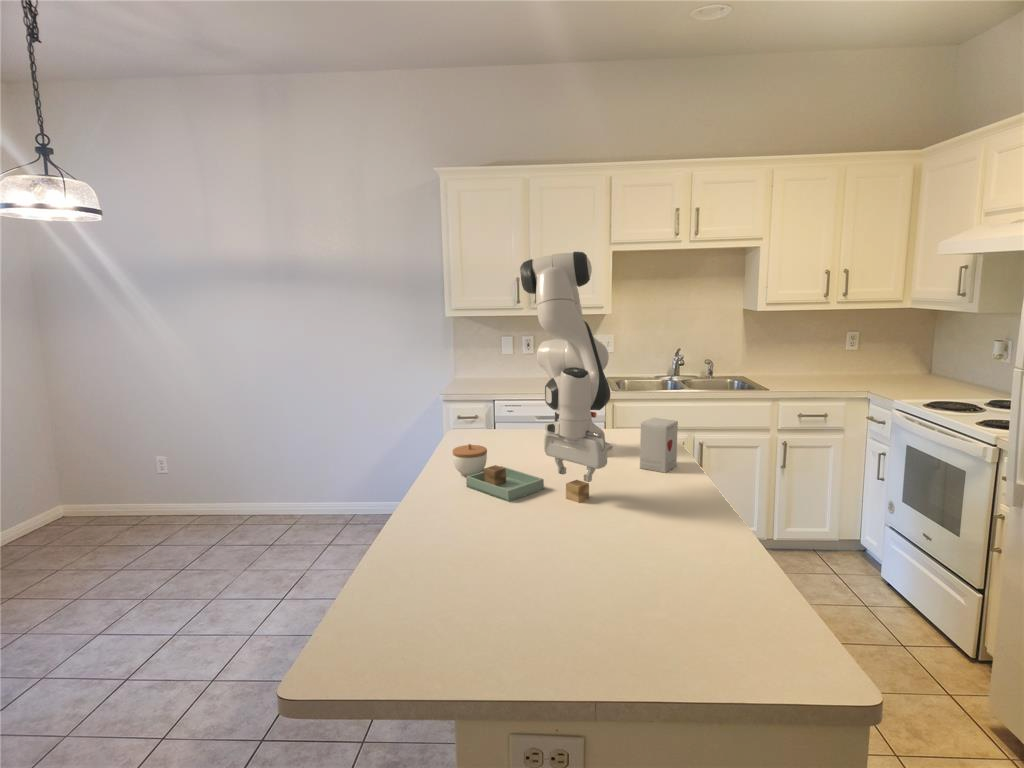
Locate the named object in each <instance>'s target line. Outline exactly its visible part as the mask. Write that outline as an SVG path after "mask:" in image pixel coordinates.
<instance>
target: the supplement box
mask: <svg viewBox="0 0 1024 768" xmlns="http://www.w3.org/2000/svg"><path fill="white" fill-rule="evenodd" d="M678 423H679V421H678V420H674V419H666V418H658V417H651V418H649V419H646V420H644V421H641V422H640V439H639V440H640V442H639V445H640V448H639V469H642V470H649V471H654V472H660V473H665V474H666V473H667V472H669V471H670V470H671V471H672V470H673V469H674V468H675V467H677V460H678V458H677V457H678V455H677V454H678V430H679V429H678V427H679V424H678Z"/></svg>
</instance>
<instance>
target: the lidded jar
mask: <svg viewBox="0 0 1024 768" xmlns="http://www.w3.org/2000/svg"><path fill="white" fill-rule="evenodd" d="M487 453H488V449H487V447H485V446H482V445H477V444H471V443H468V444H466V445H459V446H457V447H454V448H453V449H452V459H453V464H454V467H455V469H456V471H458V472H459V473H460V475H461V476H463V477H467V476H470V475H473V474H477V473H480V472H483V470H484V468H486V464H487V461H488V460H487V459H488V456H487V455H488V454H487Z"/></svg>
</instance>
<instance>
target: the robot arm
mask: <svg viewBox="0 0 1024 768" xmlns="http://www.w3.org/2000/svg"><path fill="white" fill-rule="evenodd" d="M592 270H593V269H592V262H591V260H590V259H589V257H588V255H587V254H586V253H585V252H583V251H573V252H561V253H560V252H559V253H553V254H552V255H547V256H542V257H538V258H535V259H532V258H531V259H528V260H526V261H523V262H522V264H521V265H520V267H519V273H518V276H519V282H520V285H521V287H522V289H523V291H524V292H526V293H528V294H532V295H535V301H536V302H535V303H536V312H537V320H538V323H539V325H540V327H541V328H542V329H543V330H544V331H545V332H547V333H548V334H549V335H552V336H554V337H555V339H554V338H553V339H548V340H544V341H541V343H540V344H539V346H538V347H537V350H536V360H537V362H538V365H539V366H540V367H541V368H542V369H544V371H545V372H546V374H548V376H549V378H550V379H549V380H548V381H547V382H546V384H545V386H544V402H545V404H546V405H547V406H548V407H549V408H550V409H552V411H553V410H554V411H555V412H554V421H552V422H547V423H546V424H545V425H544V429H545V432H546V433H545V434H544V441H543V442H544V443H543V445H544V446H543V447H544V448H543V449H544V453H545V455H546V456H548V457H550V458H551V457H552V458H554V462H555V465H556V466H557V468H558V469H557V472H558V473H557V474H559V475H565V474H567V467H566V466H565V465H564V461H566V462H570V463H574V464H577V465H581V466H584V467H586V470H587V471H586V474H584V475H583V482H586V483H590V482H592V481H593V474H594V473H595V472H596V469H597V470H599V469H603V468H605V467H606V466H607V464H608V454H607V453H608V452H607V451H608V450H611V449H612V448H613V446H612V444H611V443H608V442H607V441H606V436H605V432H604V430H603V429H602V428H601V427H599V426H598V425H597V424H595V423H594V422H593V420H592V419H593V418H594V419H595V418H596V417H597V416H598V415H597V411H601V410H602V409H603V408H604V407H605V406H606V405H607V404H608V403H609V401H610V399H611V387H610V385H609V381H608V379H607V377H606V375H605V372H604V370H605V369H606V367H607V365H608V363H609V359H610V358H609V357H610V355H609V351H608V348H607V347H606V346H605V345H604V344H603V343H602V342H600V341H599V340H598V339H597V338H596V337H595V336H594V335H593V333H592V329H591V327H590V325H589V323H588V322H587V321H585V319H584V315H583V310H582V305H581V300H580V294H579V290H578V289H579V288H580V287H582V286H585V285H587V284H589V282H590V280H591V277H592V276H591V275H592V273H593V272H592Z"/></svg>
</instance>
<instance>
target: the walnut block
mask: <svg viewBox="0 0 1024 768" xmlns="http://www.w3.org/2000/svg"><path fill="white" fill-rule="evenodd" d="M500 466H501V465H500ZM500 466H499V465H495V464H494V465H491V466H488V467H484V469H483V470H484V478H485V482H487V483H490V484H493V485H496V486H498V485H501V484H504V483H506V468H507V467H506V468H503V467H504V466H503V467H500Z"/></svg>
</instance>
